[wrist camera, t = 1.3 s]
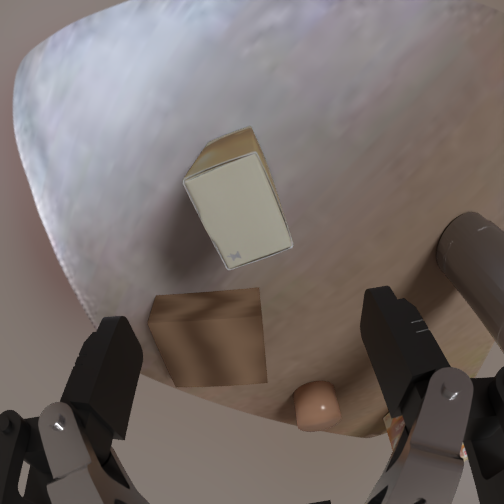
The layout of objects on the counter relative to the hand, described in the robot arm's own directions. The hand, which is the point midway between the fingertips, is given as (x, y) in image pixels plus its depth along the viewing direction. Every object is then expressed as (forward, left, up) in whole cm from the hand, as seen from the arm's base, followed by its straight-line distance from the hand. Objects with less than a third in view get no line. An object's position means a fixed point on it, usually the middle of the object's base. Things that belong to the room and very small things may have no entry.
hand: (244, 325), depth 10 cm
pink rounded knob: (-7, +38, -20) cm, 43 cm away
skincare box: (0, 0, -20) cm, 20 cm away
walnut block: (+6, +20, -20) cm, 29 cm away
